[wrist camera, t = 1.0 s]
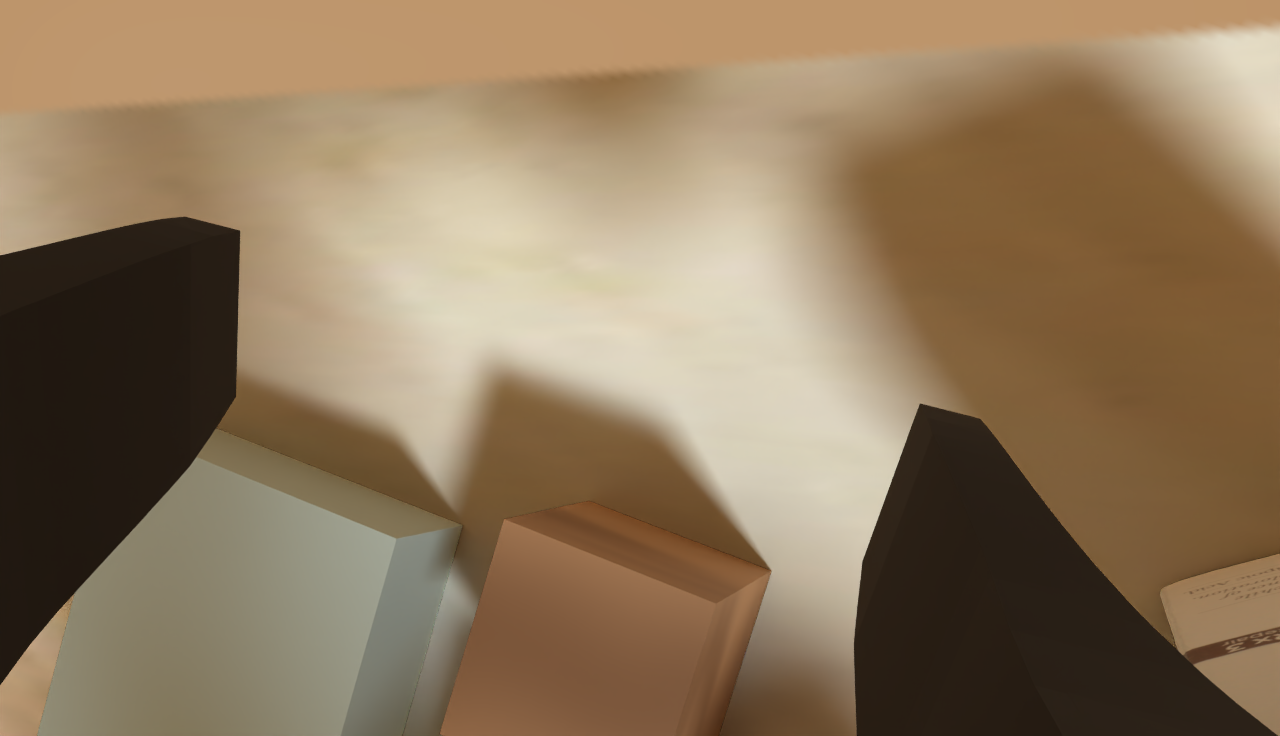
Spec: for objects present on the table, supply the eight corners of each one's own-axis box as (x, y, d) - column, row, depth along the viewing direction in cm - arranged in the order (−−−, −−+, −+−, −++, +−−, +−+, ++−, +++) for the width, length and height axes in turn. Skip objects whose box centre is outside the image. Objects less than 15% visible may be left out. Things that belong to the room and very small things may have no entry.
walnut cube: (710, 761, 23) (644, 831, 20) (534, 682, 25) (439, 733, 21) (772, 570, 23) (716, 603, 19) (590, 500, 24) (504, 519, 21)
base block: (382, 826, 26) (300, 878, 23) (138, 703, 28) (36, 736, 26) (470, 523, 26) (396, 538, 23) (215, 423, 28) (119, 425, 25)
